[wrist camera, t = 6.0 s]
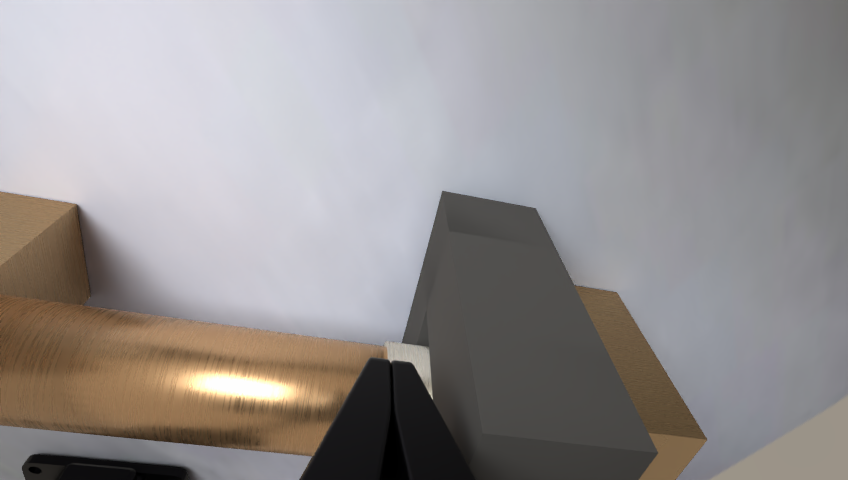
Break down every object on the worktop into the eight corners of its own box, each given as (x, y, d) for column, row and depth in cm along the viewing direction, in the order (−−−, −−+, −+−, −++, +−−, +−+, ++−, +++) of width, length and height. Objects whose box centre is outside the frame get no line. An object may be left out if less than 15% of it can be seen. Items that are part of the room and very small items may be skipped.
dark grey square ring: (535, 208, 15) (657, 453, 8) (460, 404, 20) (495, 674, 13) (442, 191, 15) (482, 433, 8) (387, 396, 20) (379, 670, 12)
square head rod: (616, 292, 18) (710, 444, 12) (579, 363, 19) (646, 523, 14) (-11, 190, 15) (-247, 332, 9) (13, 285, 16) (-173, 451, 11)
